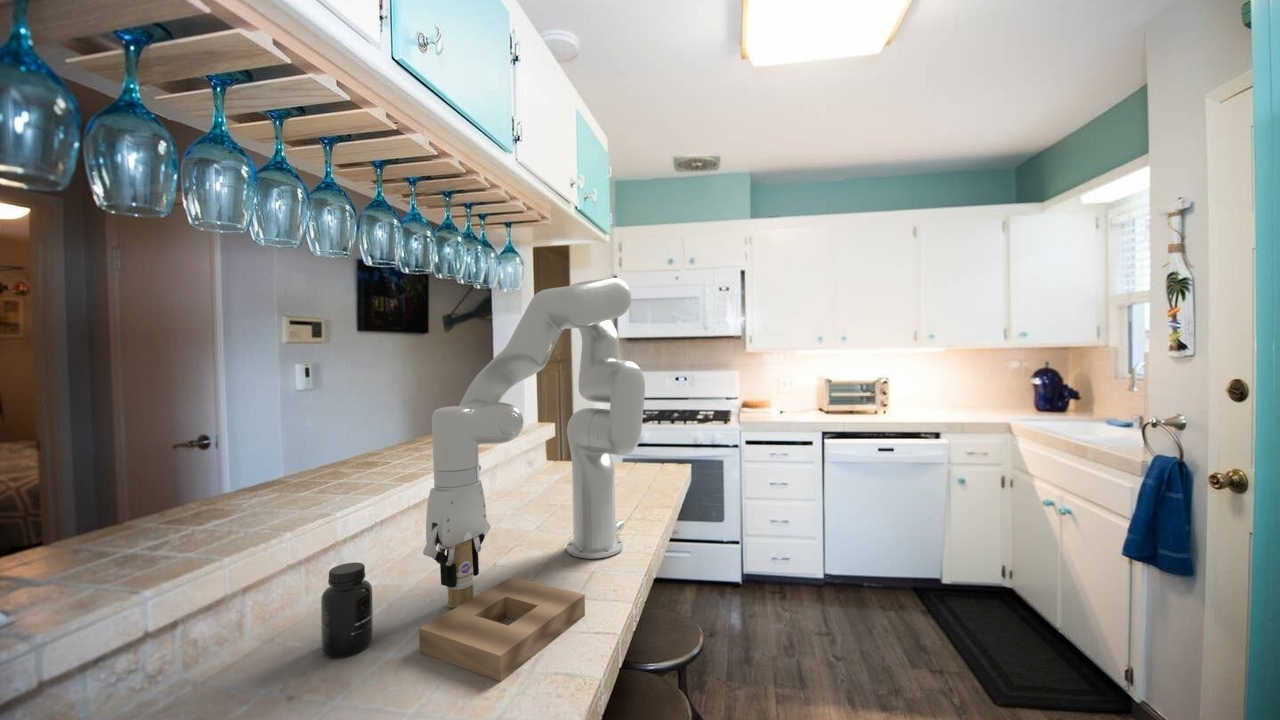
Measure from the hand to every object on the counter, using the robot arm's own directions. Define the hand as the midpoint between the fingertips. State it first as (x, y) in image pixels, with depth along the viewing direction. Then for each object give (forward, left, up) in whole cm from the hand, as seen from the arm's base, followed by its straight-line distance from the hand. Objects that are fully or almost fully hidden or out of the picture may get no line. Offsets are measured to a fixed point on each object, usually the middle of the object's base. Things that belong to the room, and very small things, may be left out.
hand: (460, 578), depth 93 cm
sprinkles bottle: (0, 0, -5) cm, 5 cm away
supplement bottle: (+17, -5, -5) cm, 19 cm away
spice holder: (+3, +14, -5) cm, 15 cm away
